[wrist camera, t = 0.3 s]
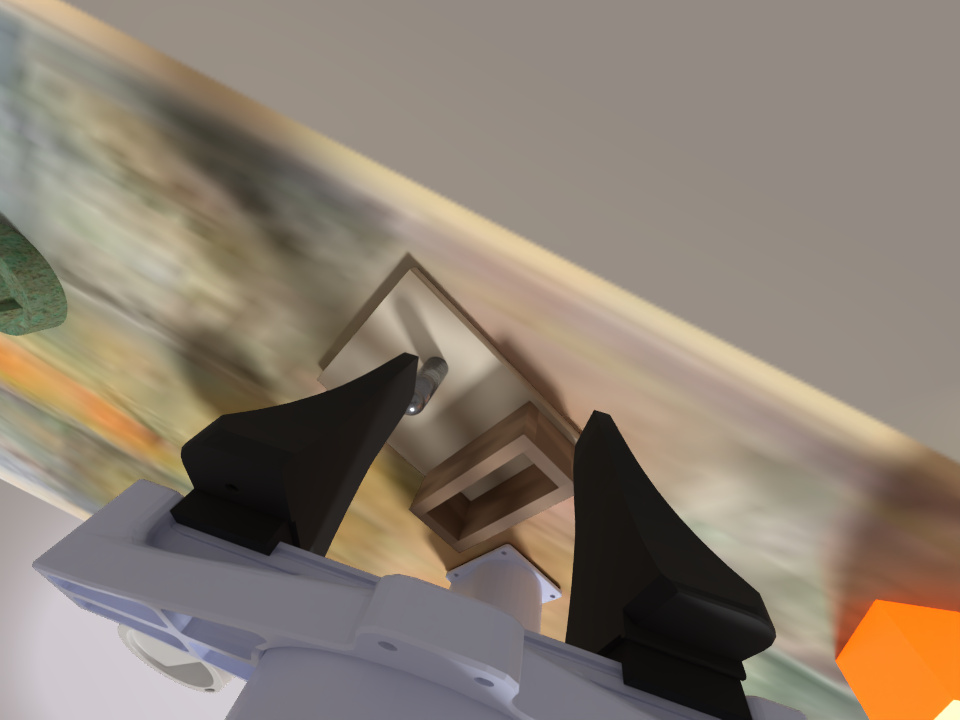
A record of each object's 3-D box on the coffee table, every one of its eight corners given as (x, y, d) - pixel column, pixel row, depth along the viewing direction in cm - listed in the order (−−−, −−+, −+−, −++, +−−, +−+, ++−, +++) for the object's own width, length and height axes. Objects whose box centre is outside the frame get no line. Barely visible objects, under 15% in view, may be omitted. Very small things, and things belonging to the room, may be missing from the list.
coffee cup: (297, 520, 39) (159, 685, 26) (260, 453, 35) (78, 605, 22) (369, 524, 36) (257, 711, 23) (338, 452, 33) (183, 624, 19)
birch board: (486, 521, 32) (484, 530, 31) (324, 373, 29) (316, 379, 28) (603, 458, 26) (604, 467, 25) (415, 266, 23) (409, 269, 22)
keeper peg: (437, 382, 26) (407, 426, 21) (420, 366, 25) (385, 406, 20) (453, 369, 25) (425, 411, 20) (435, 351, 24) (403, 390, 20)
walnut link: (471, 512, 31) (459, 553, 27) (427, 472, 30) (408, 509, 26) (579, 450, 25) (581, 491, 22) (529, 400, 24) (523, 434, 21)
